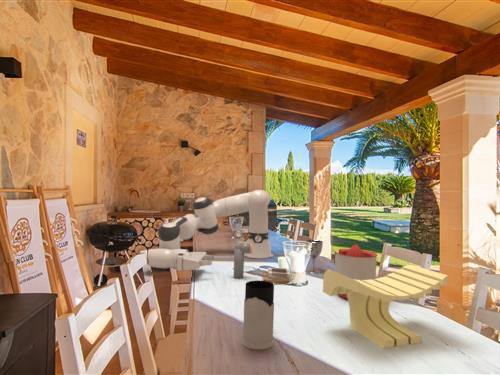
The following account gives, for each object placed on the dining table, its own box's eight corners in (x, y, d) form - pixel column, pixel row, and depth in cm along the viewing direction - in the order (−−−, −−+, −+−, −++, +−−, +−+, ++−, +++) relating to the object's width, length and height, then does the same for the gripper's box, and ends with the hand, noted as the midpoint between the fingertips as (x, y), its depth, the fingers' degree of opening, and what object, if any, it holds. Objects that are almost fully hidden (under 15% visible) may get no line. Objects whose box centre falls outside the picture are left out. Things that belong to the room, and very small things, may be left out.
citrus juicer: (335, 287, 139) (336, 239, 139) (379, 295, 130) (381, 244, 130) (323, 296, 125) (325, 244, 125) (371, 306, 117) (373, 250, 117)
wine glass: (323, 273, 160) (324, 242, 160) (306, 273, 160) (307, 242, 160) (319, 269, 168) (321, 240, 168) (304, 269, 168) (305, 239, 168)
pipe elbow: (233, 278, 146) (234, 243, 146) (233, 275, 151) (235, 242, 151) (250, 279, 146) (252, 244, 146) (251, 276, 150) (252, 242, 150)
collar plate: (262, 274, 154) (263, 266, 154) (293, 276, 153) (293, 267, 153) (263, 283, 140) (263, 274, 140) (296, 285, 139) (296, 275, 139)
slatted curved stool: (402, 317, 108) (404, 262, 108) (445, 338, 93) (447, 275, 93) (321, 326, 98) (323, 266, 98) (355, 352, 83) (357, 281, 83)
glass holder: (236, 345, 84) (238, 286, 84) (252, 324, 98) (254, 273, 98) (269, 352, 82) (272, 291, 82) (281, 329, 95) (283, 277, 95)
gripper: (187, 261, 159) (216, 262, 159) (176, 271, 139) (209, 273, 139) (187, 247, 159) (216, 249, 159) (177, 256, 139) (210, 258, 139)
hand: (213, 260), depth 149 cm, fingers open, 8 cm apart
